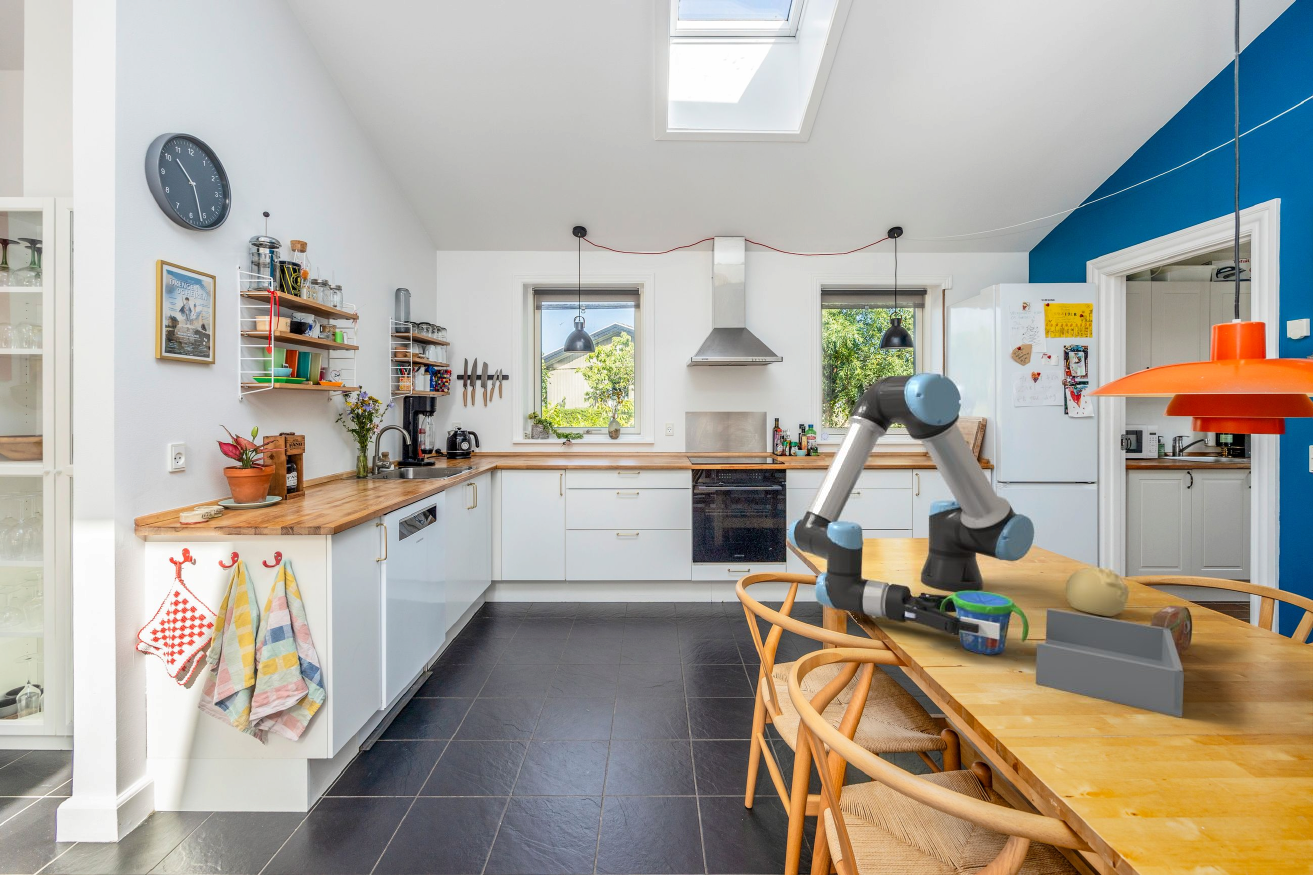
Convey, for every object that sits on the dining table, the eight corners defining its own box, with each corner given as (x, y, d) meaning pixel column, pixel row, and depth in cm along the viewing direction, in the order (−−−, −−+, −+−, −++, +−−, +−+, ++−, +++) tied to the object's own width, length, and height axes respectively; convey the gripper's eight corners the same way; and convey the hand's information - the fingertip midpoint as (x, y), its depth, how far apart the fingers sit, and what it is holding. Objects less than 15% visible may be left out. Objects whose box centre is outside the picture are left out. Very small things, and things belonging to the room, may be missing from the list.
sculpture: (1134, 623, 134) (1136, 576, 134) (1069, 615, 139) (1071, 569, 139) (1120, 609, 144) (1122, 564, 144) (1061, 601, 150) (1062, 558, 149)
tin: (1166, 662, 113) (1168, 618, 113) (1145, 656, 116) (1147, 613, 116) (1193, 645, 122) (1195, 604, 121) (1173, 640, 124) (1175, 600, 124)
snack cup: (929, 642, 122) (930, 593, 121) (953, 631, 128) (955, 584, 128) (1014, 668, 110) (1015, 613, 109) (1035, 654, 116) (1037, 602, 116)
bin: (1046, 642, 123) (1047, 608, 122) (1168, 665, 111) (1169, 628, 111) (1035, 683, 103) (1037, 643, 103) (1181, 717, 92) (1183, 672, 92)
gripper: (902, 604, 139) (1010, 624, 126) (870, 634, 120) (994, 661, 107) (903, 572, 139) (1012, 589, 126) (871, 597, 120) (995, 620, 107)
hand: (1004, 622), depth 116 cm, fingers open, 12 cm apart
